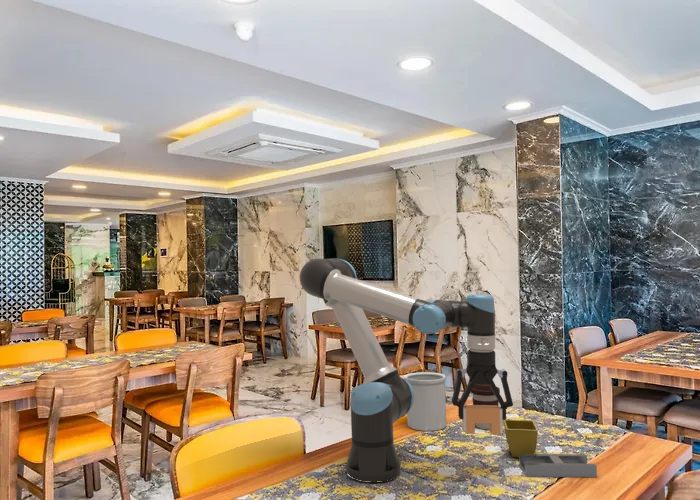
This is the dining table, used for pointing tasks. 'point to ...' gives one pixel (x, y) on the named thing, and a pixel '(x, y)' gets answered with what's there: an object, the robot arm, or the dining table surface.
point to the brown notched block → (482, 417)
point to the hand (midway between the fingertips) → (482, 431)
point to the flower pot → (521, 436)
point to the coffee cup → (484, 399)
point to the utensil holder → (427, 401)
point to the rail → (556, 465)
